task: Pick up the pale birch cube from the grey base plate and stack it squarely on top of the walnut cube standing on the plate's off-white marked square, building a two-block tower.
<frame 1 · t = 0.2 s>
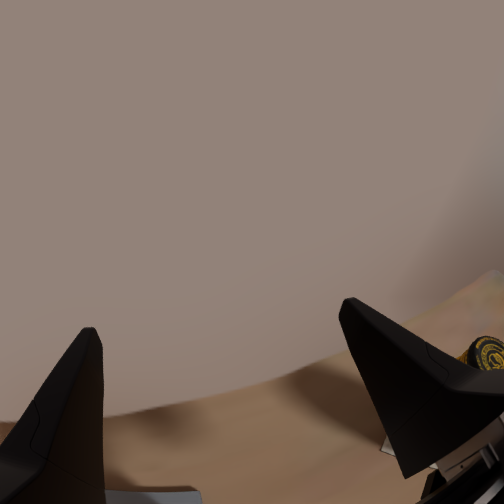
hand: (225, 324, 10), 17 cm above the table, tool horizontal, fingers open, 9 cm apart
condiment: (421, 427, 21), on the table
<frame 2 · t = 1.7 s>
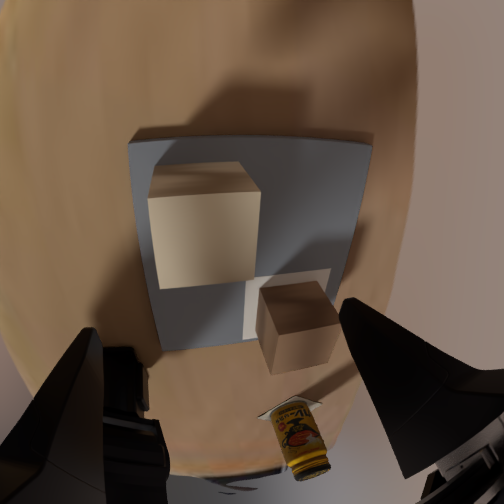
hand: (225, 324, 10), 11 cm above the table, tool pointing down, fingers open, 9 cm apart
walnut block: (285, 306, 25), point 1 cm above the table, touching grey base plate
condiment: (290, 409, 40), on the table
birch block: (197, 201, 18), point 1 cm above the table, touching grey base plate
grey base plate: (252, 256, 22), on the table
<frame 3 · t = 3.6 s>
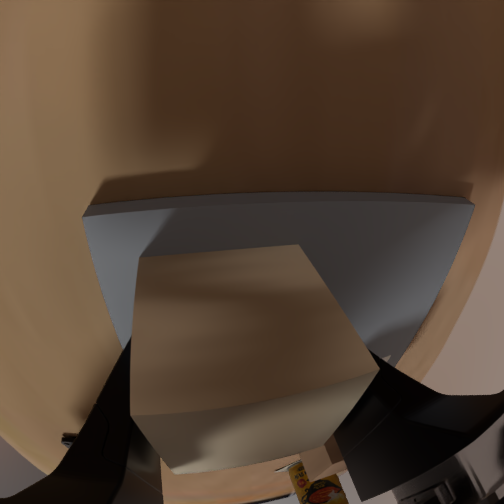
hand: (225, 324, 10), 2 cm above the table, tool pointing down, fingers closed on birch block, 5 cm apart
walnut block: (328, 399, 17), point 1 cm above the table, touching grey base plate
condiment: (309, 460, 33), on the table
birch block: (221, 310, 10), point 1 cm above the table, touching grey base plate, gripper
grey base plate: (296, 356, 14), on the table
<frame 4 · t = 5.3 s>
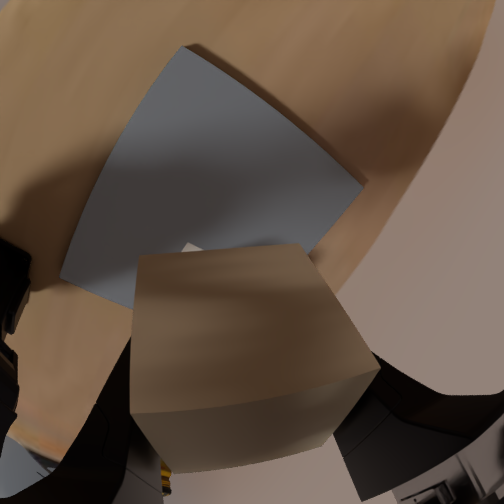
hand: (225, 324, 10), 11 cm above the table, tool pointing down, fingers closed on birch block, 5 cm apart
birch block: (221, 308, 10), point 11 cm above the table, touching gripper
grey base plate: (204, 224, 20), on the table
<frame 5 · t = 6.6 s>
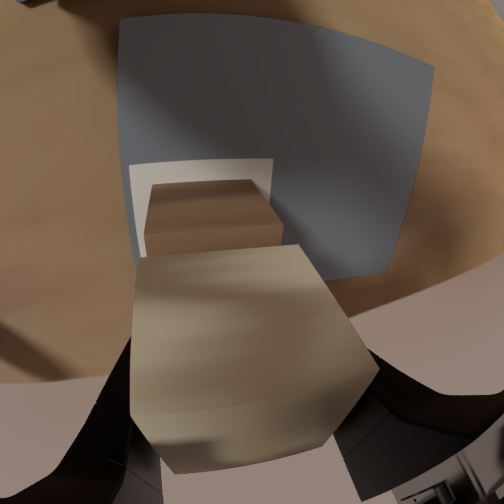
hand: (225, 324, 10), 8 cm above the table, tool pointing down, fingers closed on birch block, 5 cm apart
walnut block: (202, 225, 15), point 1 cm above the table, touching grey base plate
birch block: (221, 310, 10), point 7 cm above the table, touching gripper
grey base plate: (291, 165, 16), on the table
when the fingers open (8 cm above the table, at t = 7.3 s): birch block drops 1 cm, resting on walnut block.
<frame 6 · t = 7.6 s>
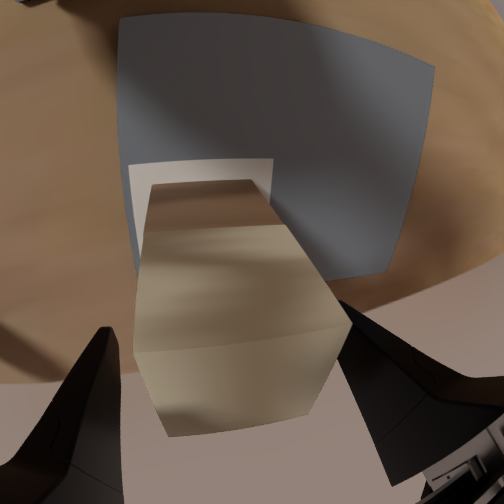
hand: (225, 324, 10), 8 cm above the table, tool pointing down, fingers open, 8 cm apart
walnut block: (202, 225, 15), point 1 cm above the table, touching birch block, grey base plate
birch block: (216, 284, 11), point 6 cm above the table, touching walnut block
grey base plate: (292, 165, 16), on the table
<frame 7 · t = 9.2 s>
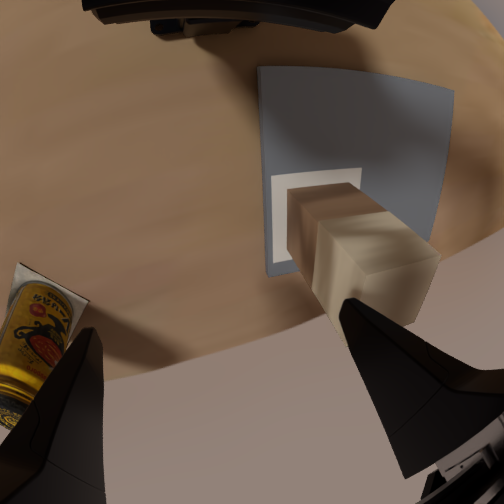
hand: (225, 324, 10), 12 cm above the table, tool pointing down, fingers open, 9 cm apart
walnut block: (317, 215, 22), point 1 cm above the table, touching birch block, grey base plate
condiment: (42, 309, 21), on the table
birch block: (350, 250, 18), point 6 cm above the table, touching walnut block
grey base plate: (369, 170, 22), on the table
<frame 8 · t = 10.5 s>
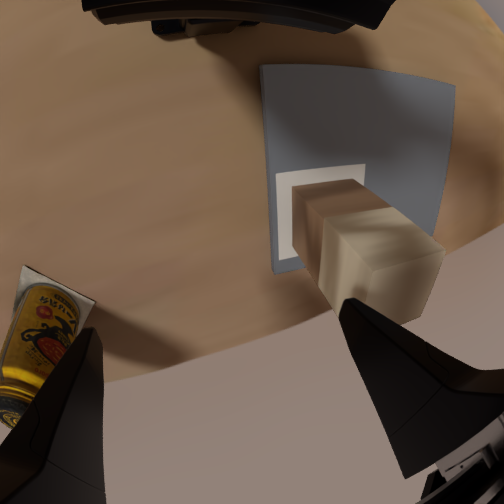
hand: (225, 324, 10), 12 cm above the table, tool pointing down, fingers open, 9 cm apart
walnut block: (322, 212, 22), point 1 cm above the table, touching birch block, grey base plate
condiment: (48, 311, 22), on the table
birch block: (356, 247, 18), point 6 cm above the table, touching walnut block
grey base plate: (373, 166, 21), on the table
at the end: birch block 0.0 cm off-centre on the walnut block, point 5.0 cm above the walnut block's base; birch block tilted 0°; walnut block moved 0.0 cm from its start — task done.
